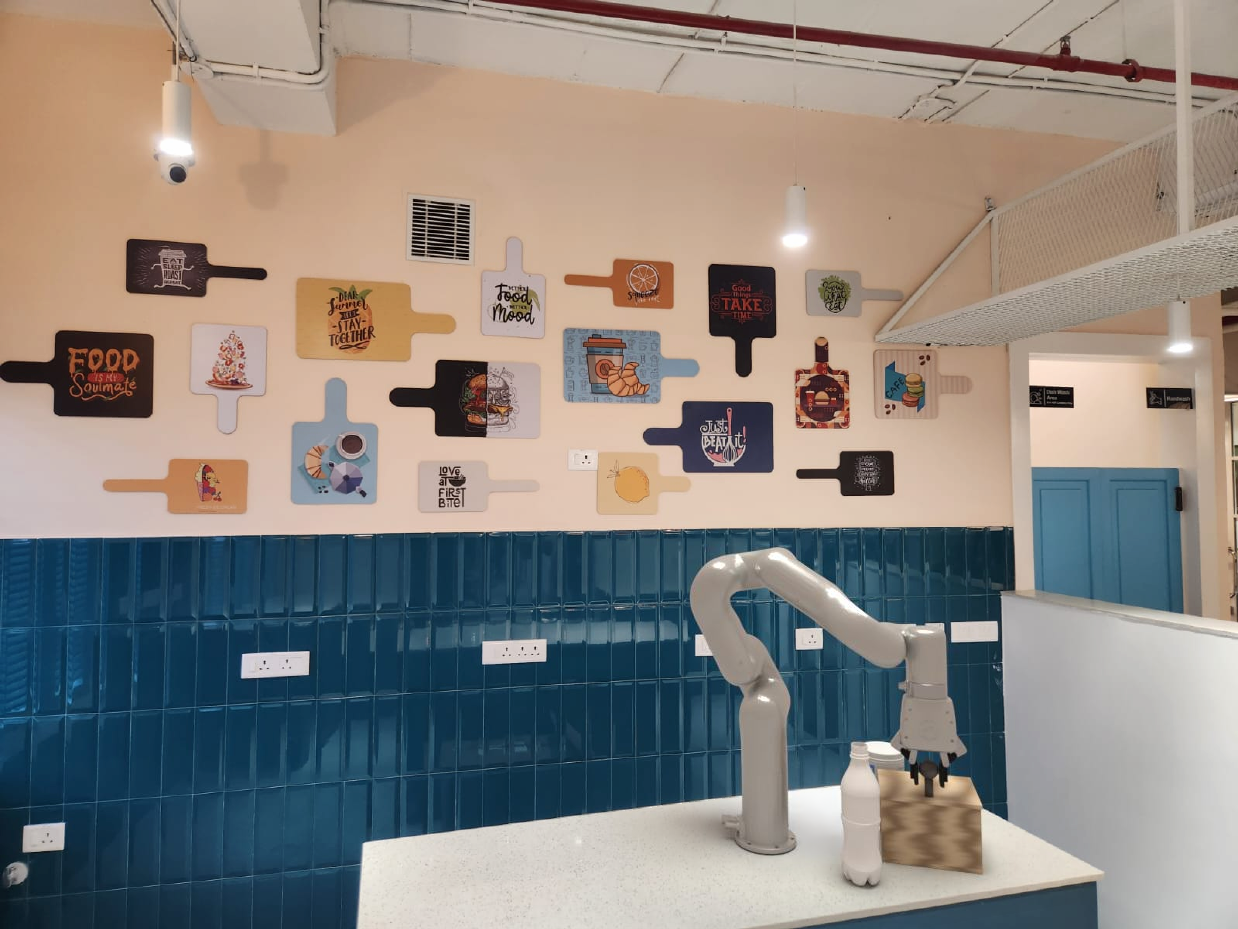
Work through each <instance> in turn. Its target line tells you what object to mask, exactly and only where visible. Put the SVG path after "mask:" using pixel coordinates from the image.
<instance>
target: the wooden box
mask: <svg viewBox="0 0 1238 929" xmlns="http://www.w3.org/2000/svg"><path fill="white" fill-rule="evenodd" d="M880 818H881V821H880V826H879V837H880V838H879V839H880V846H881V848H880V849H881V859H882V862H883V863H889V862H890V863H891V864H897V863H900V864H899V865H906V866H913V867H923V868H930V869H937V870H944V869H946V870H945V871H953V872H961V873H969V874H976V873H977V875H983V873H984V871H983V865H984V864H983V836H982V835H983V833H982V828H983V827H982V810H978V809H968V808H959V807H949V806H940V805H930V804H921V803H911V802H902V801H892V800H882V799H880Z"/></svg>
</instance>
